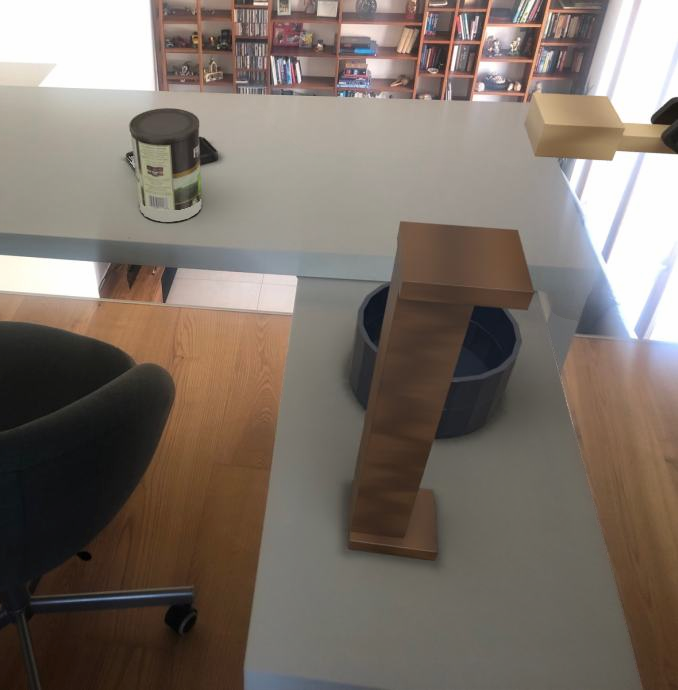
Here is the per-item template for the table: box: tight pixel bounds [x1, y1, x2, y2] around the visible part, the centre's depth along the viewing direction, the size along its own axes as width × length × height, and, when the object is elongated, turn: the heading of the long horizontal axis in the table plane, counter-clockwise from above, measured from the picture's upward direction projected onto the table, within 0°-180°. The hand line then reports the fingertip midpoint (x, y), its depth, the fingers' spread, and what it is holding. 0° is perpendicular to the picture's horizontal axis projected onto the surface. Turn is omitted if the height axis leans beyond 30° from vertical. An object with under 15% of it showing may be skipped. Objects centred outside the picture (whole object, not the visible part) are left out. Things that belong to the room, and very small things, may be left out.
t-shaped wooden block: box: [523, 92, 678, 162], centre depth 47 cm, size 14×5×2 cm, turn 80°
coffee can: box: [128, 107, 202, 211], centre depth 106 cm, size 10×10×14 cm
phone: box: [125, 136, 219, 174], centre depth 122 cm, size 8×1×15 cm
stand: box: [347, 220, 535, 561], centre depth 57 cm, size 8×7×32 cm
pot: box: [348, 281, 523, 439], centre depth 78 cm, size 17×17×9 cm
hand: (669, 118), depth 47 cm, fingers closed on t-shaped wooden block, 2 cm apart
